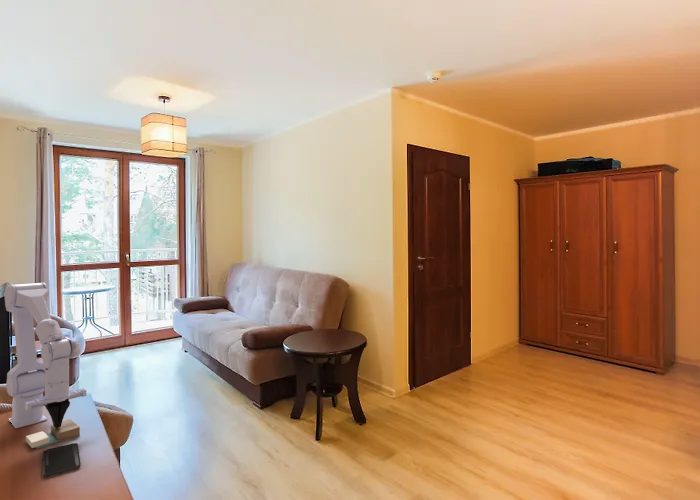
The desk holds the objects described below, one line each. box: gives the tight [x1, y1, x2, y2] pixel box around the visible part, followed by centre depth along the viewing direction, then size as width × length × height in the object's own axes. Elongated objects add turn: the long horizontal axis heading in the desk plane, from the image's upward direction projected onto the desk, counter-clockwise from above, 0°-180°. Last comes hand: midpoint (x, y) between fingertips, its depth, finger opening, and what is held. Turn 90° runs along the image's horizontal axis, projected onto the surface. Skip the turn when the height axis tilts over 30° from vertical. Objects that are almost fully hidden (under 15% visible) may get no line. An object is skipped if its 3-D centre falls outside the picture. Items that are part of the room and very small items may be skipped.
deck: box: [50, 418, 81, 443], centre depth 119 cm, size 8×5×2 cm, turn 52°
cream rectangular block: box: [25, 430, 49, 449], centre depth 114 cm, size 6×4×2 cm, turn 52°
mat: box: [34, 432, 59, 450], centre depth 115 cm, size 8×5×1 cm, turn 52°
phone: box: [41, 442, 82, 479], centre depth 105 cm, size 8×1×15 cm
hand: (57, 426), depth 118 cm, fingers closed
